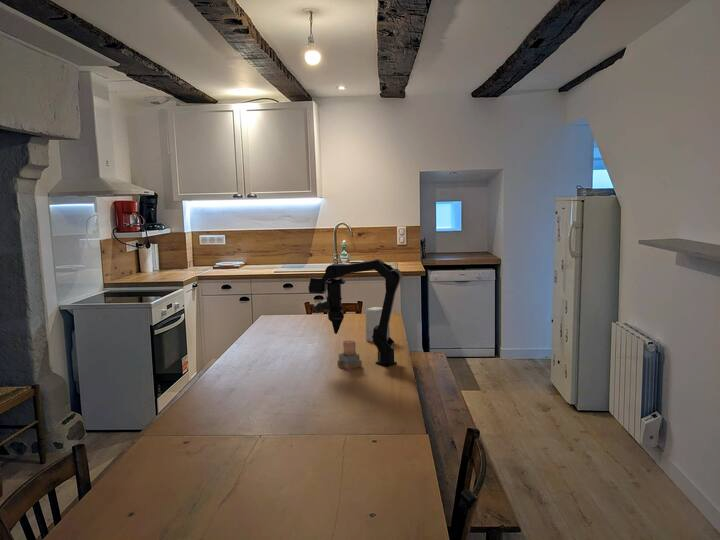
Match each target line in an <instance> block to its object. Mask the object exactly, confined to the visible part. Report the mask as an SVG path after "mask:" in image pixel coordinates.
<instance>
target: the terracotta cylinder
mask: <svg viewBox="0 0 720 540" xmlns="http://www.w3.org/2000/svg"><path fill="white" fill-rule="evenodd" d="M356 345H357V343H356V341H355V340H344V341H343V342H342V347H343V349H342V350H343V351H342V353H344V355H345V356H353V355H356V353H357V346H356Z"/></svg>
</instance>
